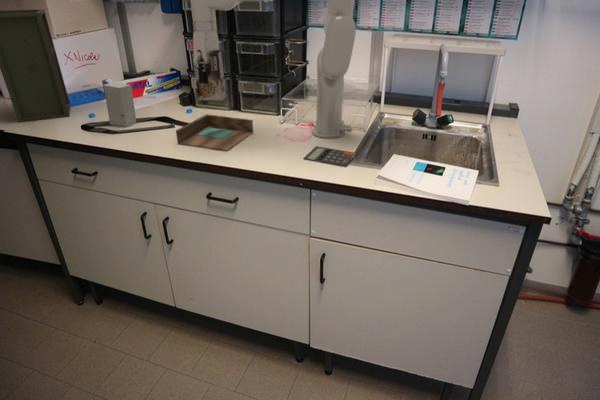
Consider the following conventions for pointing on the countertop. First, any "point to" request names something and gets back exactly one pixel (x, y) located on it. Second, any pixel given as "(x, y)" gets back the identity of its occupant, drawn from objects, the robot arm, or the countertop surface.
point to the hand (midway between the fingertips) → (210, 80)
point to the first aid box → (31, 66)
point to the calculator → (330, 156)
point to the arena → (215, 132)
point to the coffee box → (212, 78)
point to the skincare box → (120, 104)
